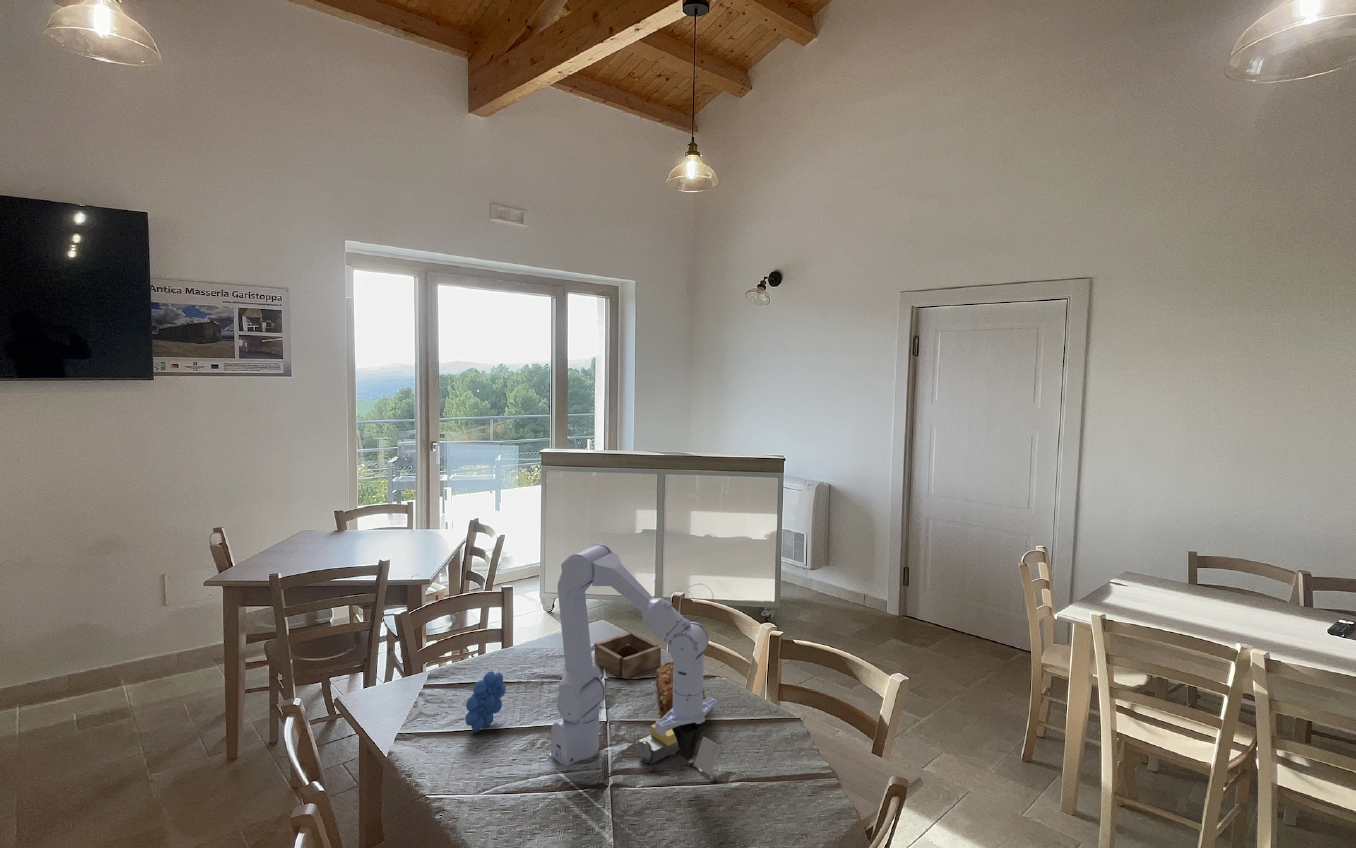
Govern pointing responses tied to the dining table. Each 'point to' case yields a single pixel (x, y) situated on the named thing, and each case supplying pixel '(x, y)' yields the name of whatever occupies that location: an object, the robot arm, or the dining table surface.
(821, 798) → the dining table surface
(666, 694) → the bread
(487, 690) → the grapes
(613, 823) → the dining table surface
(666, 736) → the pale yellow block
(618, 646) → the open wooden box
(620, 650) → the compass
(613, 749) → the dining table surface
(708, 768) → the plate
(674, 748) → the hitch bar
